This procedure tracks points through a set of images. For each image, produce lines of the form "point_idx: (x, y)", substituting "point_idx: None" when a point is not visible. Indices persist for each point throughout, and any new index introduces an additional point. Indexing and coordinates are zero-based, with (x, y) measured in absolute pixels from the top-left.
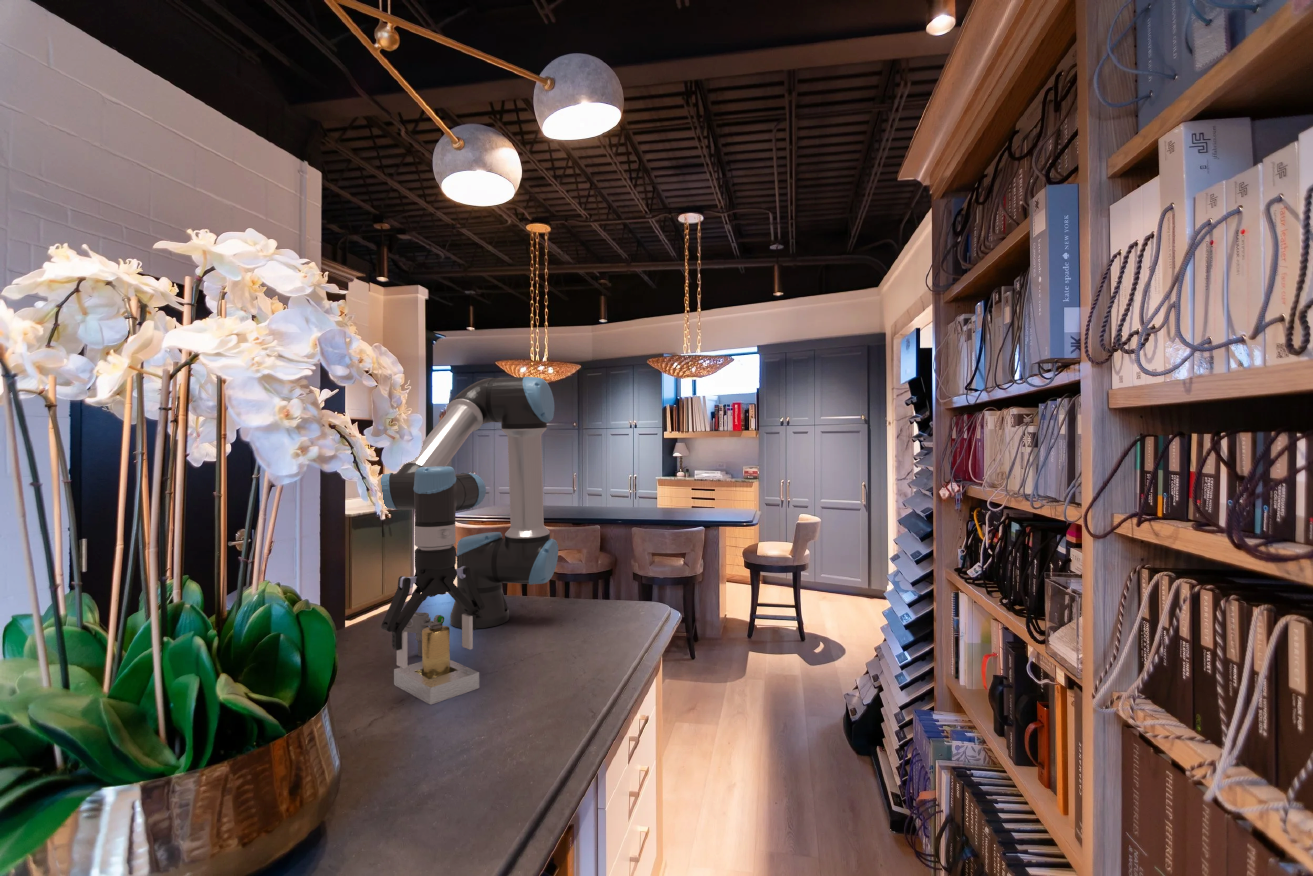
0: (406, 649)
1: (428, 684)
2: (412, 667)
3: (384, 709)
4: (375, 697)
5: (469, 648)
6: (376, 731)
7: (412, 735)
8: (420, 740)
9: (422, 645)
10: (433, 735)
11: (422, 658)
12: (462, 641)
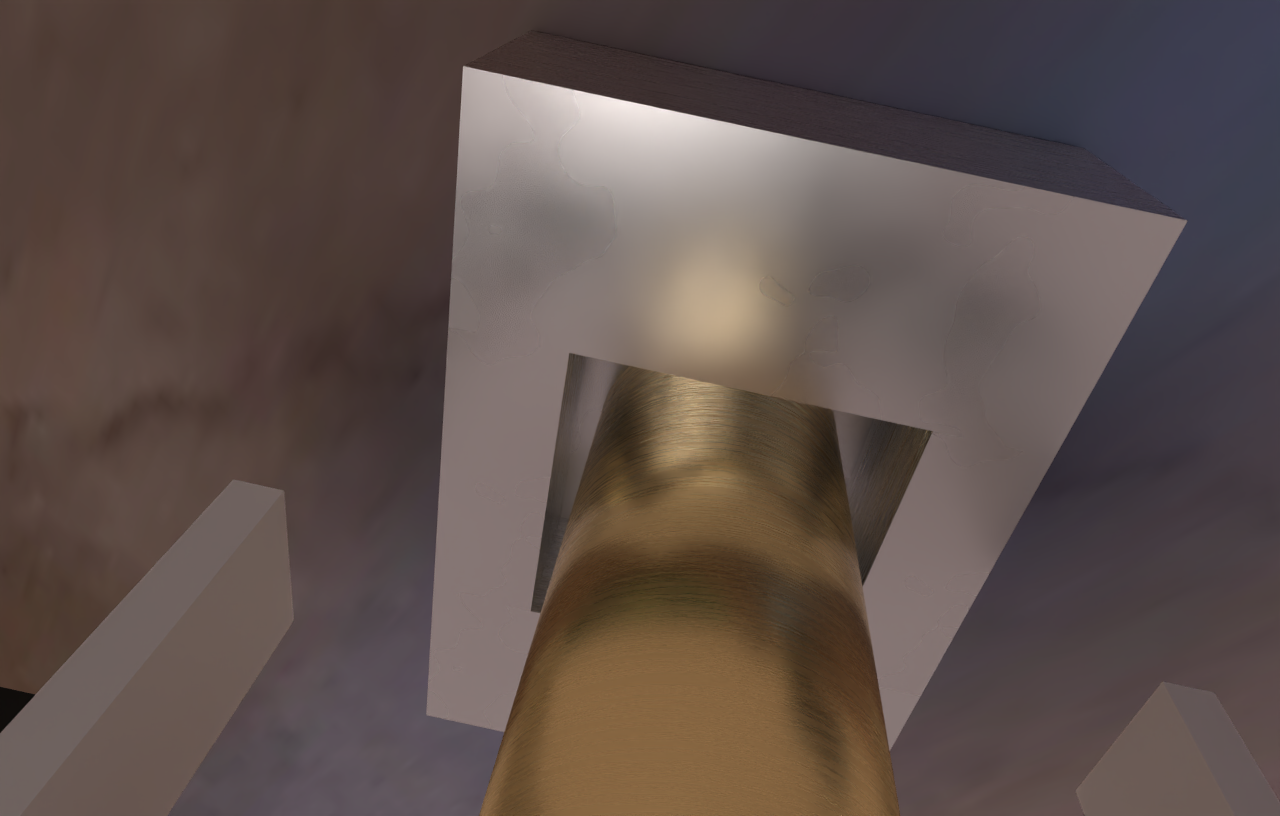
0: (155, 809)
1: (455, 669)
2: (642, 238)
3: (270, 327)
4: (316, 27)
5: (1081, 802)
6: (118, 530)
7: (251, 694)
8: (257, 745)
9: (510, 729)
10: (324, 759)
11: (557, 578)
12: (1194, 752)
